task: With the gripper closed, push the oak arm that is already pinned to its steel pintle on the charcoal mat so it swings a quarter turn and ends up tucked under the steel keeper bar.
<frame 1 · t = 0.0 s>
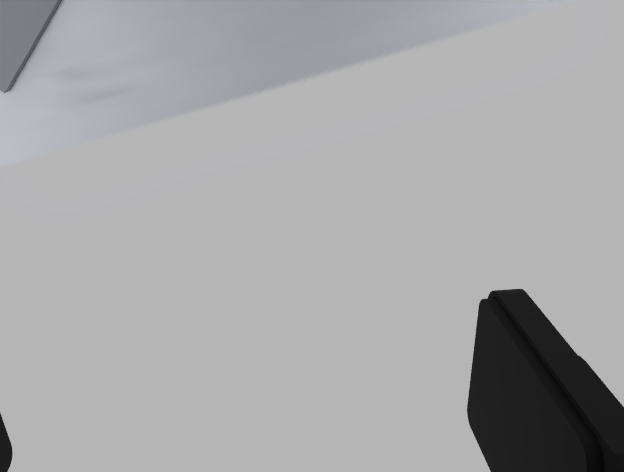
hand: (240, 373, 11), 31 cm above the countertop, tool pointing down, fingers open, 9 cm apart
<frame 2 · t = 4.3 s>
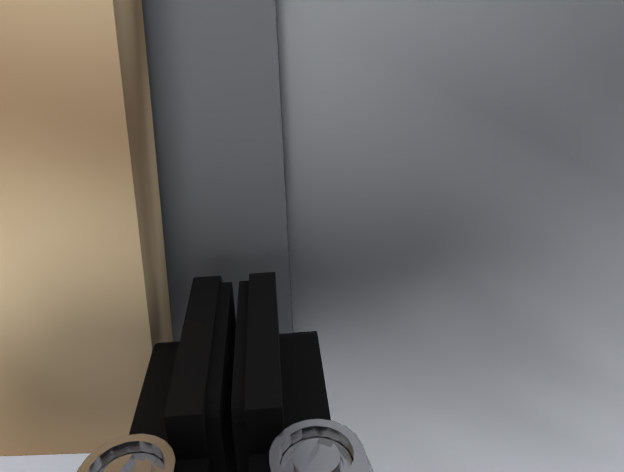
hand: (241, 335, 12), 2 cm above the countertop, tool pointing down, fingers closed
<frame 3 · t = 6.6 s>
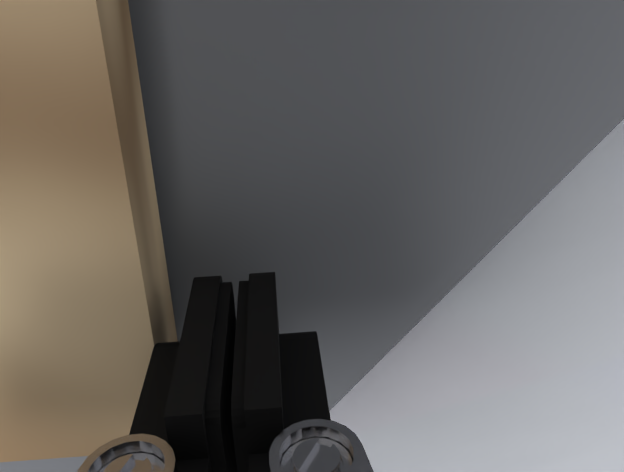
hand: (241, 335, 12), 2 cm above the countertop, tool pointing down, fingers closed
charcoal mat: (34, 139, 12), on the countertop
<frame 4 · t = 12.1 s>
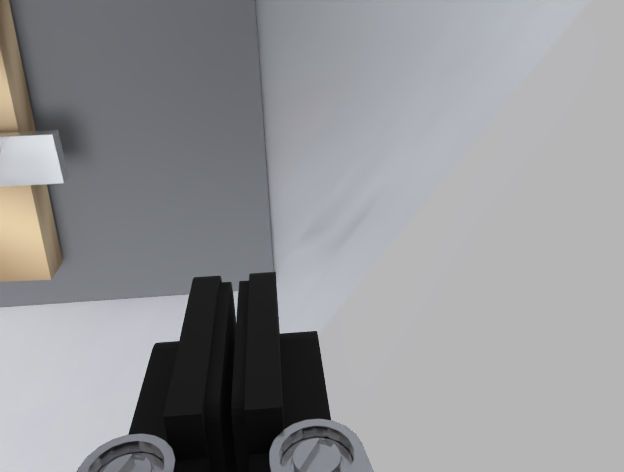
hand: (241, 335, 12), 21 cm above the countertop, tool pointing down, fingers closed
charcoal mat: (92, 133, 31), on the countertop
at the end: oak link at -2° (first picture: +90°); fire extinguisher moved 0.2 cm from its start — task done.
